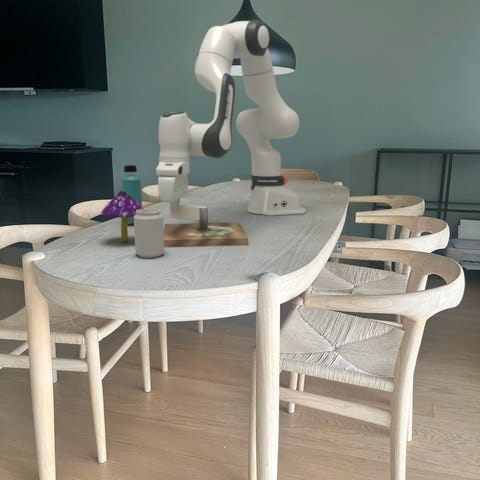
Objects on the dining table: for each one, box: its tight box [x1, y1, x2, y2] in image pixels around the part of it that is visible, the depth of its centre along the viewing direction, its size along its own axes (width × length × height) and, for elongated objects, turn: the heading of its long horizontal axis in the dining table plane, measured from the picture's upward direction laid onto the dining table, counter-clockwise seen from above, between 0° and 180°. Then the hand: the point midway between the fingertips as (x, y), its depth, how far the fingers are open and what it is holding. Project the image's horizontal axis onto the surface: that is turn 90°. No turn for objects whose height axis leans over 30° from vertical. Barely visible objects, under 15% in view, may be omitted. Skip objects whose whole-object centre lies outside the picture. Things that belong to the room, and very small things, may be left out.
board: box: [164, 222, 249, 248], centre depth 146 cm, size 24×22×2 cm
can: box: [133, 208, 165, 259], centre depth 125 cm, size 8×8×12 cm
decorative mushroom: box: [100, 190, 145, 243], centre depth 138 cm, size 12×12×15 cm
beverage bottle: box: [121, 164, 143, 223], centre depth 161 cm, size 6×7×20 cm
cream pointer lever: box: [169, 204, 231, 230], centre depth 146 cm, size 20×3×7 cm, turn 68°
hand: (175, 213), depth 146 cm, fingers closed
